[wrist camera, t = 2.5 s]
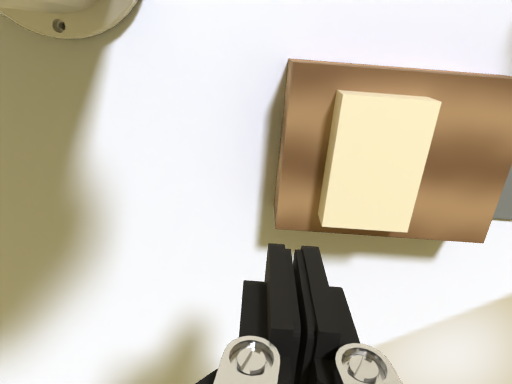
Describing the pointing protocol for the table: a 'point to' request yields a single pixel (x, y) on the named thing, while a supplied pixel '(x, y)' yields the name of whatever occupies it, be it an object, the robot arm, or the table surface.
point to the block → (376, 159)
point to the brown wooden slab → (439, 156)
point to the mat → (505, 200)
